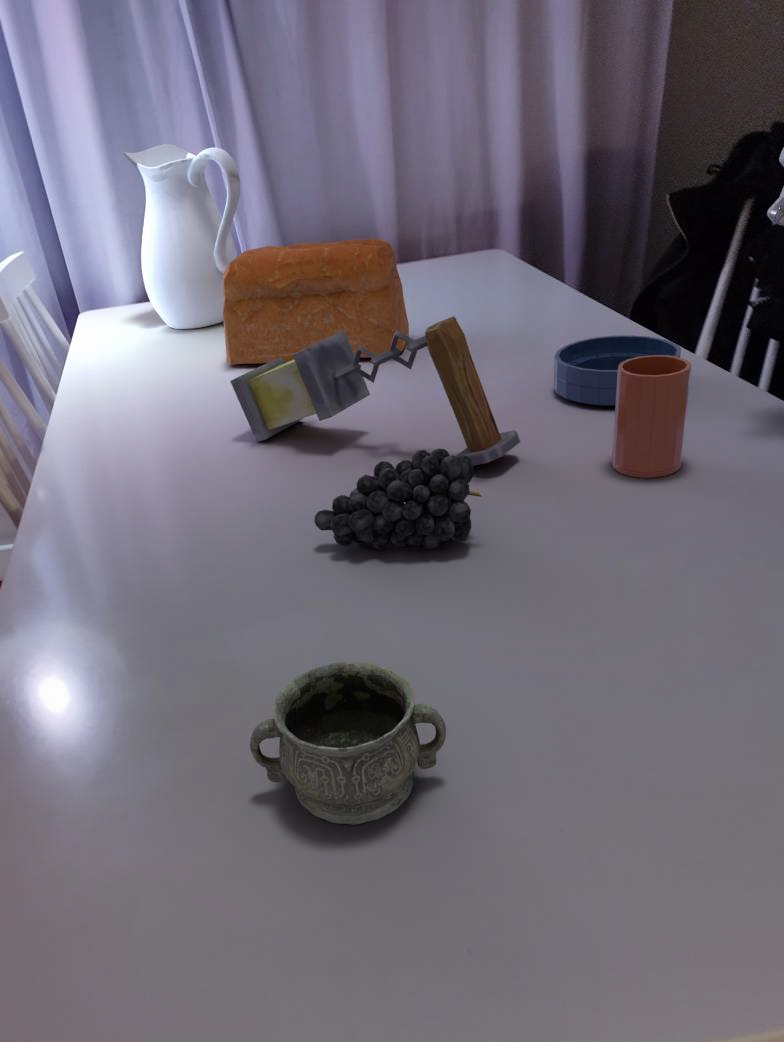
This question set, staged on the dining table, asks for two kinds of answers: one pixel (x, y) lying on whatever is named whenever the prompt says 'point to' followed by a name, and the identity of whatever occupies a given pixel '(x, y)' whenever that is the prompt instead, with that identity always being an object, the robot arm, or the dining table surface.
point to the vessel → (348, 740)
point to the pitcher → (185, 234)
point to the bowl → (601, 365)
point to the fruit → (424, 518)
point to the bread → (311, 299)
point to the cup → (650, 415)
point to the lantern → (337, 383)
